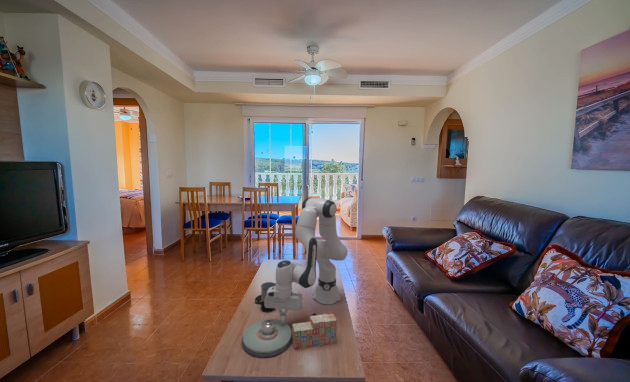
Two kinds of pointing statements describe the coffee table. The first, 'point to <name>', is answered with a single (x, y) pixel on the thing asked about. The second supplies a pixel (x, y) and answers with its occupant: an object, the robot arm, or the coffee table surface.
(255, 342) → the turntable
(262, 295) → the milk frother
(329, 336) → the stack of blocks
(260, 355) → the turntable base
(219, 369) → the coffee table surface
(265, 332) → the cover
